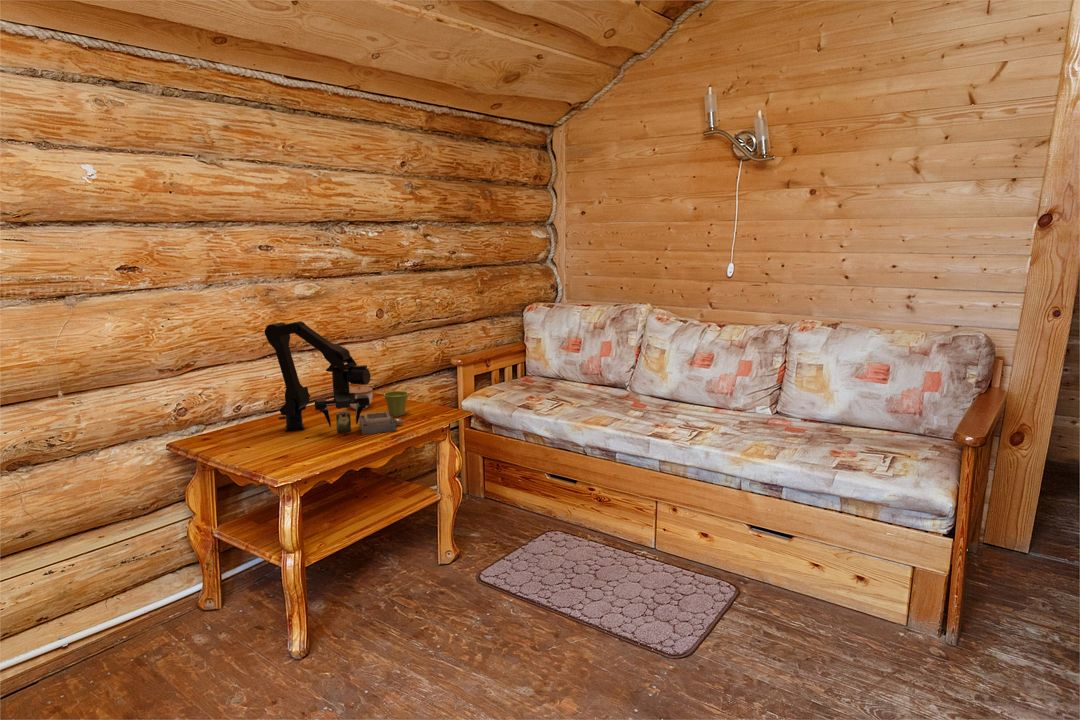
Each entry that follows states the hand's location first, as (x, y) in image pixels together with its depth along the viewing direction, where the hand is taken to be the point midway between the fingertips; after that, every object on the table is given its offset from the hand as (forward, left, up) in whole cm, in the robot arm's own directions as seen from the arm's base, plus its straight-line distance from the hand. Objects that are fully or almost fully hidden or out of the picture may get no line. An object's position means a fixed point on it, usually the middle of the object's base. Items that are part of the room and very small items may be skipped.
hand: (343, 425), depth 233 cm
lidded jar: (-32, +8, -3) cm, 33 cm away
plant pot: (-16, +21, -3) cm, 27 cm away
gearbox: (-1, +14, -2) cm, 14 cm away
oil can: (0, 0, -2) cm, 2 cm away
